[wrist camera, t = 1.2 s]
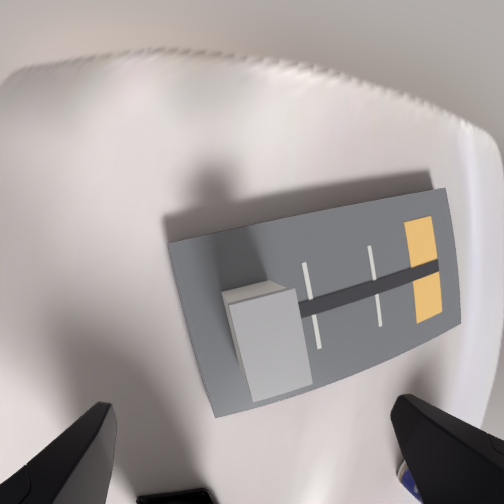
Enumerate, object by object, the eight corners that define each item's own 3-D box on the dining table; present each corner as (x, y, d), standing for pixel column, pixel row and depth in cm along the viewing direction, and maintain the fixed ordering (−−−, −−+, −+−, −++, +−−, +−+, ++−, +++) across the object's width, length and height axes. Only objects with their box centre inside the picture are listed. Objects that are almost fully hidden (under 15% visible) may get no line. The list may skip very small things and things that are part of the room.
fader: (238, 368, 19) (253, 402, 15) (219, 290, 19) (228, 305, 14) (286, 355, 20) (312, 383, 15) (270, 278, 20) (295, 288, 15)
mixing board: (213, 407, 21) (215, 418, 19) (168, 243, 20) (167, 243, 19) (450, 320, 25) (461, 323, 23) (434, 189, 24) (446, 187, 23)
